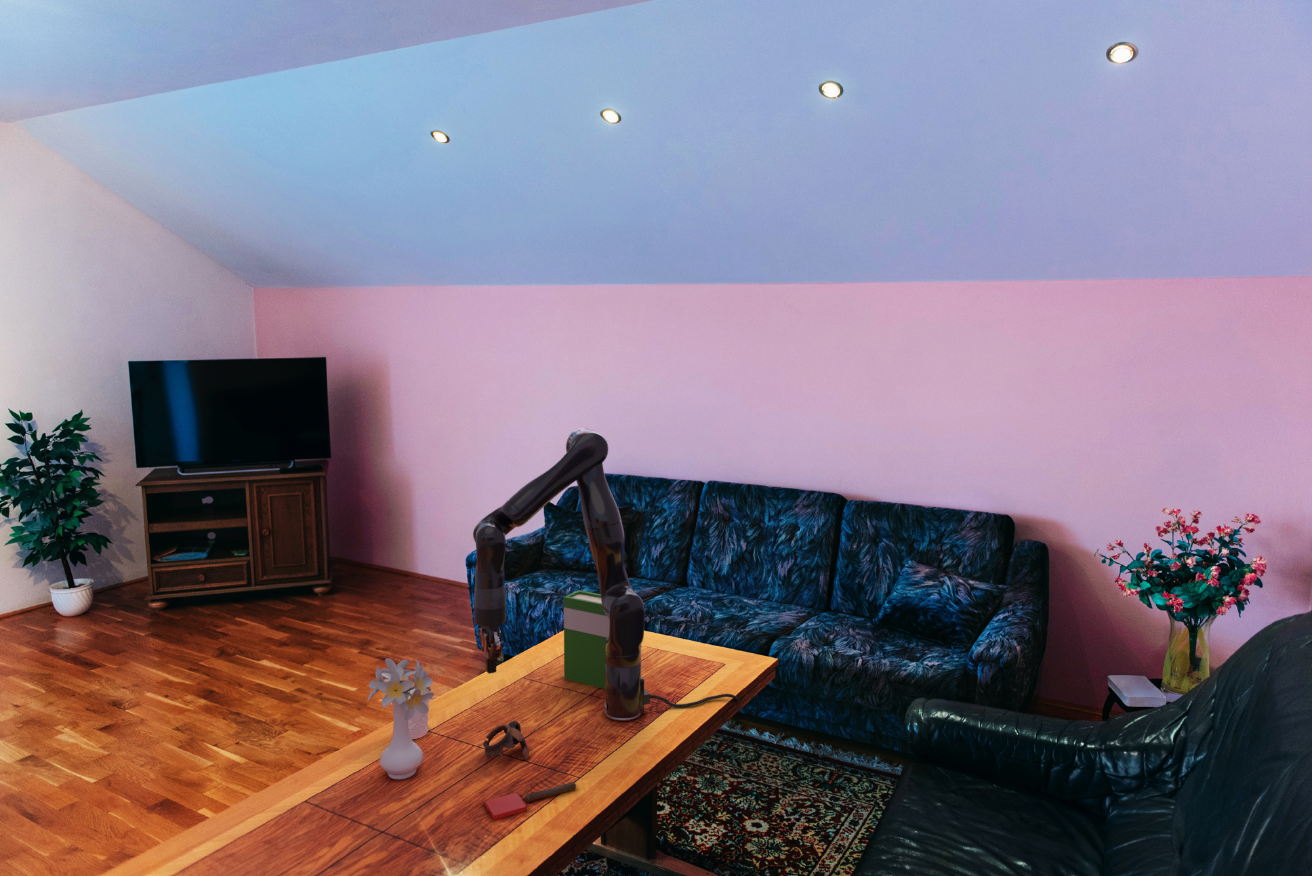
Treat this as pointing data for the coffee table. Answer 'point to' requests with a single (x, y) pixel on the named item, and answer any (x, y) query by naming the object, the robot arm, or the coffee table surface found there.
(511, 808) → the spatula
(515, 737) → the dark brown curved piece
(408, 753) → the flower vase
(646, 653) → the coffee table surface
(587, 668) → the hardback book
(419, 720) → the white cup
